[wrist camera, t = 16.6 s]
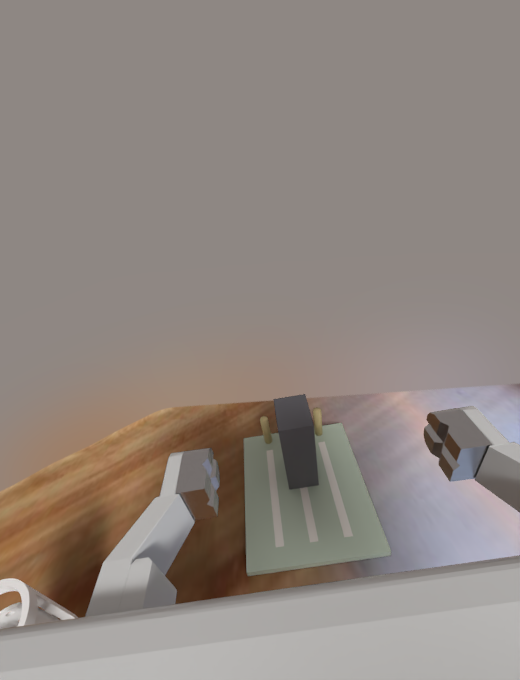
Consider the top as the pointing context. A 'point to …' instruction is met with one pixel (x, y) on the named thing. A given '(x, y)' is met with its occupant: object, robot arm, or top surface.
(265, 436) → the pinboard
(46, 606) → the white plastic cylinder
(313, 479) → the block
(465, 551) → the top surface
